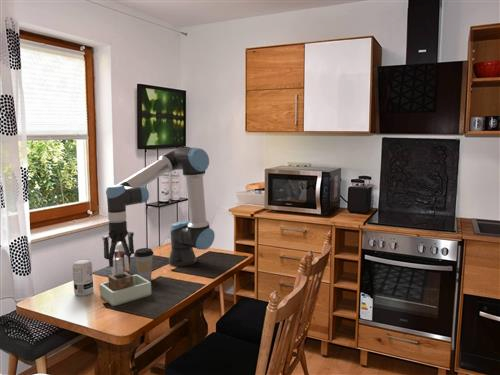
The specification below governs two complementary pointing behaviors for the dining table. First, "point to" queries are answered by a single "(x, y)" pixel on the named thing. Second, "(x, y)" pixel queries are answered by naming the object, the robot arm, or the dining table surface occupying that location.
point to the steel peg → (119, 268)
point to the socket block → (120, 282)
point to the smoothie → (121, 254)
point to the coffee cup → (144, 262)
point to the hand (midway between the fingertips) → (120, 271)
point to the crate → (126, 291)
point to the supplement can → (82, 277)
